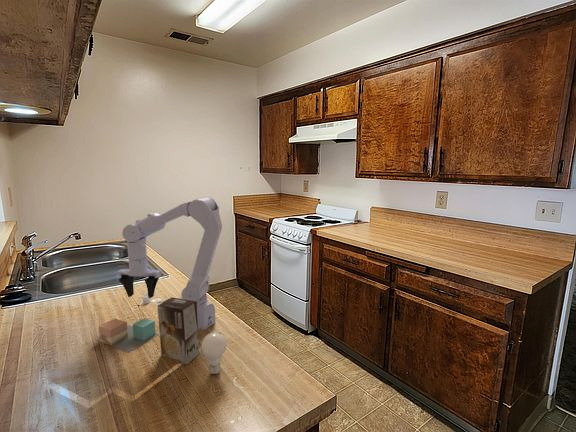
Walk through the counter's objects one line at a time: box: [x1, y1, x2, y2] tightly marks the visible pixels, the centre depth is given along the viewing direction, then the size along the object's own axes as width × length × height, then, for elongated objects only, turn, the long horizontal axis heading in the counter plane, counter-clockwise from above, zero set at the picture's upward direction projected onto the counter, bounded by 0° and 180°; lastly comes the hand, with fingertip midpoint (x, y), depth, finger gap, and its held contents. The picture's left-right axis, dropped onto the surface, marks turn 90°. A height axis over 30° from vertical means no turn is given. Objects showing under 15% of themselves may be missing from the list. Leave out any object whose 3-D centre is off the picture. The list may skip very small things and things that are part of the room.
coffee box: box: [157, 296, 201, 365], centre depth 91 cm, size 9×6×16 cm
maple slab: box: [98, 330, 128, 346], centre depth 99 cm, size 6×6×2 cm
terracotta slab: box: [98, 318, 128, 338], centre depth 99 cm, size 6×6×2 cm
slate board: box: [97, 324, 160, 353], centre depth 100 cm, size 14×11×1 cm
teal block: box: [132, 317, 157, 341], centre depth 101 cm, size 4×4×4 cm
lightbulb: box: [200, 332, 227, 375], centre depth 84 cm, size 6×6×11 cm
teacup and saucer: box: [138, 293, 162, 305], centre depth 127 cm, size 9×8×4 cm
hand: (141, 296), depth 111 cm, fingers open, 7 cm apart
